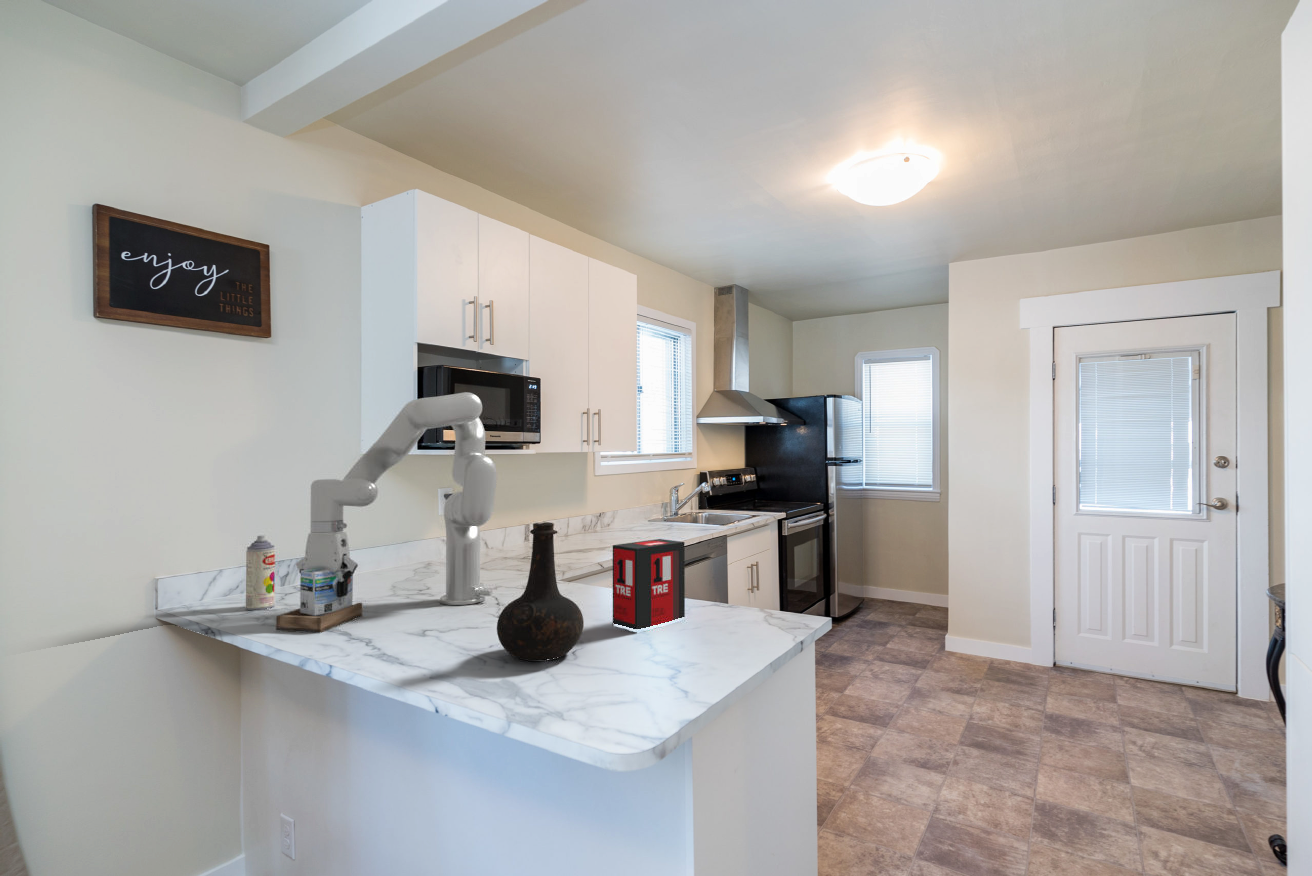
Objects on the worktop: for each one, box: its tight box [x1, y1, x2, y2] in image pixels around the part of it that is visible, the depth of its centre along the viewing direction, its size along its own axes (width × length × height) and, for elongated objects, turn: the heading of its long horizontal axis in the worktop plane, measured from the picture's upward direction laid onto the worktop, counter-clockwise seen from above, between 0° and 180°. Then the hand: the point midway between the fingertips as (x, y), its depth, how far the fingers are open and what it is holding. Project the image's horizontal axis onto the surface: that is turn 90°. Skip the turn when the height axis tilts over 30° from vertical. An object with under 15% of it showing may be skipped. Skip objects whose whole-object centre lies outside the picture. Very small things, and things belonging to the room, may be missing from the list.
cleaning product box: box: [612, 538, 686, 629], centre depth 162 cm, size 16×9×20 cm, turn 134°
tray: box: [275, 602, 363, 633], centre depth 163 cm, size 12×16×4 cm
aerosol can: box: [245, 534, 276, 611], centre depth 180 cm, size 7×7×20 cm
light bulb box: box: [299, 568, 354, 616], centre depth 166 cm, size 11×7×11 cm, turn 149°
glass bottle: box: [496, 521, 585, 661], centre depth 137 cm, size 18×18×28 cm
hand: (326, 595), depth 165 cm, fingers closed on light bulb box, 8 cm apart
